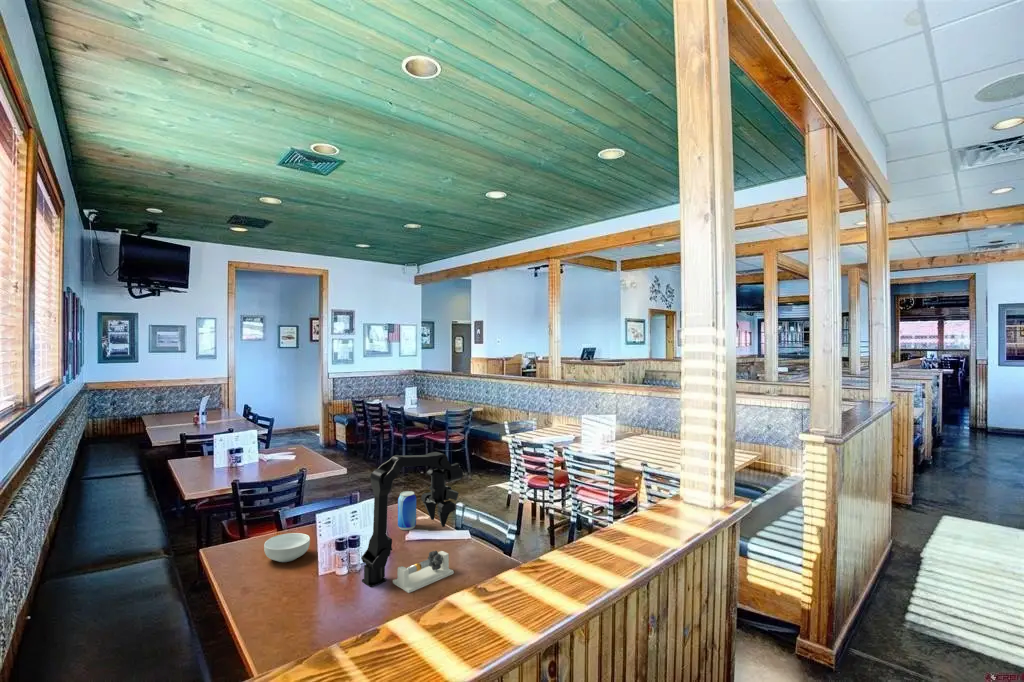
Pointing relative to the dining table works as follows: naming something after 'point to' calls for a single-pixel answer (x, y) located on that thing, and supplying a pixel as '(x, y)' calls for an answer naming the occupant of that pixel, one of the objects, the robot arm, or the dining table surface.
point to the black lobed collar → (437, 557)
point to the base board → (422, 575)
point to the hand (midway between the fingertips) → (437, 523)
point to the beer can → (407, 510)
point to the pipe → (422, 565)
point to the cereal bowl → (286, 546)
